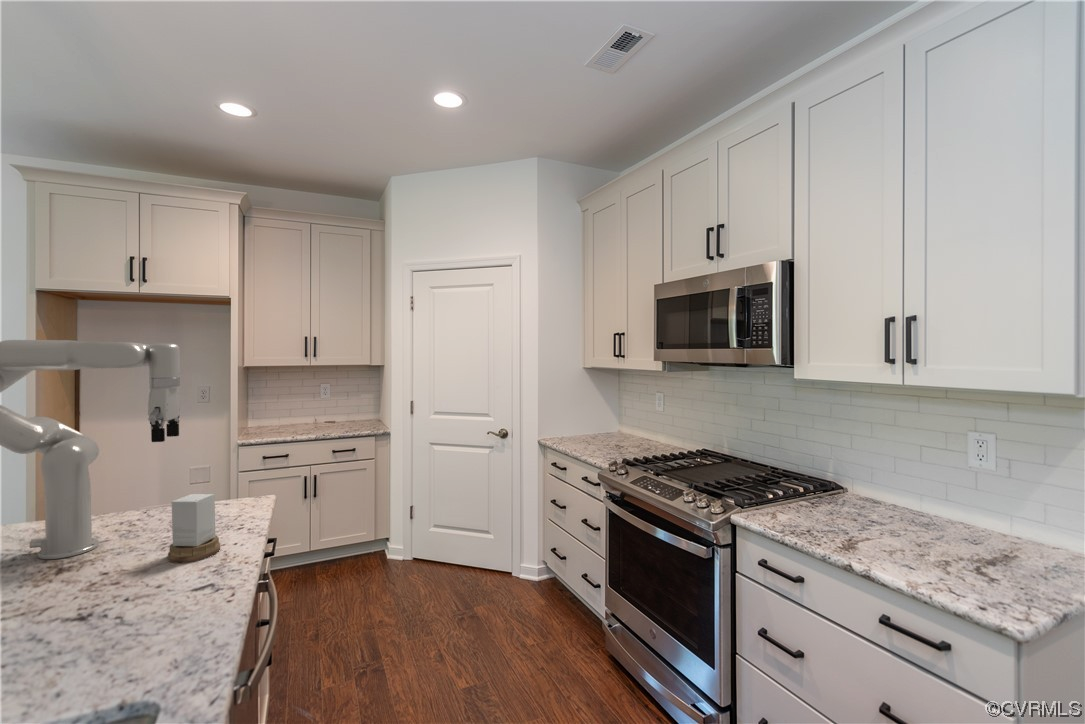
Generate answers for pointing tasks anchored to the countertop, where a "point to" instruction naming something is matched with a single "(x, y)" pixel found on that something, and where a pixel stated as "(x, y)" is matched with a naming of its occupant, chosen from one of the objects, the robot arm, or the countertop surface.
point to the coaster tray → (193, 558)
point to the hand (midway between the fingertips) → (165, 438)
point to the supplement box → (193, 519)
